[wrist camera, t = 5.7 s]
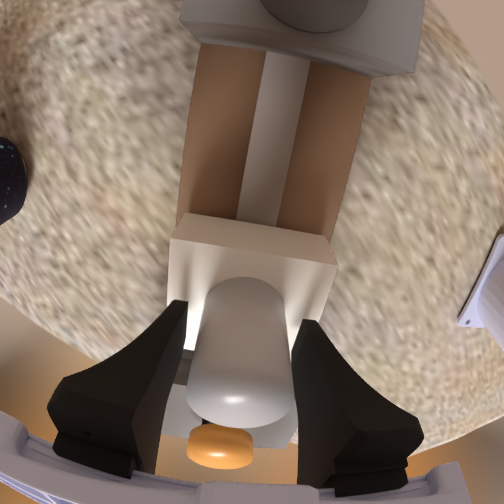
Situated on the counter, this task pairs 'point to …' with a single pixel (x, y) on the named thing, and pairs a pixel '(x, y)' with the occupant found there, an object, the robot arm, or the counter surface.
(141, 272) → the counter surface
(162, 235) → the counter surface
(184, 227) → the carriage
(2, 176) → the beverage can
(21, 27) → the counter surface
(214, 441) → the button
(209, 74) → the rail
